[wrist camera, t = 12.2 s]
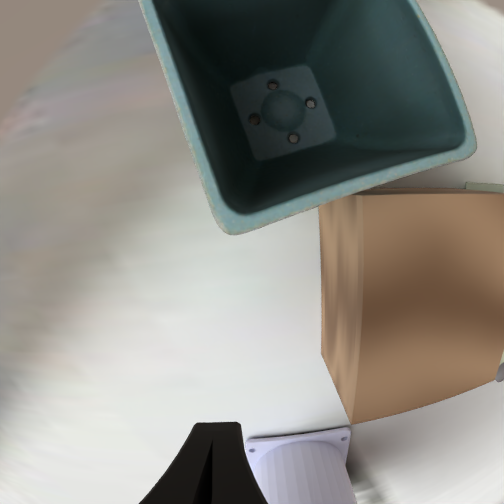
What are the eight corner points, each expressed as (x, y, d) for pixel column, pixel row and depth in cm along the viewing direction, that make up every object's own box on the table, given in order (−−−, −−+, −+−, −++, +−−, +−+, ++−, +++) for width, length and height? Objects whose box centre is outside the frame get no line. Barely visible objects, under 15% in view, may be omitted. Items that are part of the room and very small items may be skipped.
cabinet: (439, 331, 19) (494, 379, 12) (321, 353, 19) (351, 424, 12) (449, 188, 17) (524, 195, 10) (317, 190, 17) (362, 195, 10)
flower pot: (325, 29, 15) (378, -60, 6) (380, 163, 16) (483, 154, 8) (182, 69, 15) (132, -17, 6) (234, 212, 17) (222, 242, 8)
